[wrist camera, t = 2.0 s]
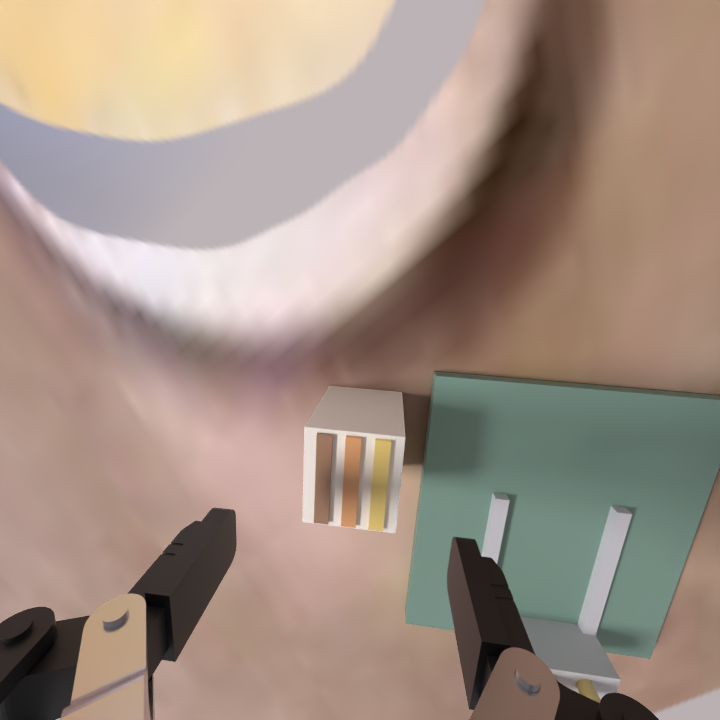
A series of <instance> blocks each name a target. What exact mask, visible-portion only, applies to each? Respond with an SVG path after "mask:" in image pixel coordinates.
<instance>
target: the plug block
mask: <svg viewBox="0 0 720 720" xmlns="http://www.w3.org/2000/svg"><path fill="white" fill-rule="evenodd" d="M404 447H405V424H404V411H403V398H402V392H396V391H385V390H373V389H362V388H351V387H340V386H329V387H328V389H327V390H326V392H325V394H324V395H323V397H322V399H321V400H320V402H319V404H318V405H317V407H316V409H315V410H314V412H313V414H312V415H311V417H310V419H309V420H308V422H307V424H306V425H305V428H304V473H303V518H302V522H307V523H315V524H324V525H332V526H340V527H348V528H356V529H364V530H372V531H380V532H388V533H396V524H397V515H398V505H399V495H400V486H401V476H402V466H403V457H404Z"/></svg>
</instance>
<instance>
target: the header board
mask: <svg viewBox="0 0 720 720" xmlns="http://www.w3.org/2000/svg"><path fill="white" fill-rule="evenodd" d="M719 468H720V395H710V394H698V393H686V392H674V391H663V390H651V389H639V388H627V387H615V386H604V385H592V384H580V383H568V382H556V381H544V380H533V379H521V378H509V377H497V376H485V375H473V374H462V373H450V372H438V371H434V375H433V384H432V392H431V400H430V409H429V417H428V425H427V434H426V442H425V450H424V459H423V467H422V475H421V484H420V492H419V500H418V509H417V517H416V525H415V534H414V542H413V550H412V559H411V567H410V575H409V583H408V592H407V600H406V608H405V613H406V623H407V624H413V625H420V626H427V627H434V628H441V629H448V630H455V629H454V624H453V618H452V613H451V608H450V602H449V597H448V590H447V570H448V563H449V557H450V550H451V543H452V538H453V537H461V538H470V539H475V540H476V542H477V545H478V548H479V551H480V554H481V556H482V557H490V558H492V559H493V560H494V561H495V562H496V564H497V565H498V566H499V567H500V568H501V570H502V571H503V573H504V576H505V578H506V581H507V583H508V586H509V589H510V591H511V594H512V596H513V600H514V602H515V604H516V606H517V609H518V612H519V614H520V617H521V619H522V622H523V624H524V627H525V630H526V632H527V635H528V637H529V640H530V642H531V645H532V648H533V650H534V652H535V655H536V656H537V657H538V658H540V659H541V660H542V661H543V662H544V663H545V664H546V665H547V666H548V668H549V669H550V670H551V672H552V673H553V675H554V677H555V679H556V680H557V681H558V682H560V683H561V684H563V685H564V686H566V687H568V688H569V689H571V690H573V691H575V692H577V693H580V694H582V695H584V696H586V697H588V698H590V699H592V700H594V701H596V702H598V703H600V701H601V700H600V698H602V697H603V696H604V695H606V694H608V693H616V692H617V689H618V686H619V683H620V680H621V679H620V677H619V676H618V674H617V672H616V670H615V669H614V667H613V665H612V663H611V662H610V660H609V658H608V656H607V655H606V653H605V652H607V653H614V654H621V655H627V656H634V657H641V658H648V659H650V658H651V655H652V652H653V650H654V647H655V644H656V641H657V638H658V636H659V633H660V630H661V627H662V625H663V622H664V619H665V616H666V614H667V611H668V608H669V605H670V603H671V600H672V597H673V594H674V592H675V589H676V586H677V583H678V581H679V578H680V575H681V572H682V570H683V567H684V564H685V561H686V559H687V556H688V553H689V550H690V548H691V545H692V542H693V539H694V537H695V534H696V531H697V528H698V526H699V523H700V520H701V517H702V515H703V512H704V509H705V506H706V504H707V501H708V498H709V495H710V492H711V490H712V487H713V484H714V481H715V479H716V476H717V473H718V470H719Z"/></svg>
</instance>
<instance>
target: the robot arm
mask: <svg viewBox="0 0 720 720" xmlns="http://www.w3.org/2000/svg"><path fill="white" fill-rule="evenodd" d="M235 551H236V515H235V511H234V510H230V509H222V508H213V509H211V510H210V512H209V513H208V514H207V515H206V517H205V518H204V519H203V520H202V522H201V521H195V522H193V523H192V524H190V525H189V526H187V527H186V528H184V529H183V530H181V532H180V533H179V534H178V535H177V536H176V537H175V539H174V540H173V541H172V542H171V545H169V546H168V547H167V548H166V549H165V550H164V551H163V554H162V555H160V556H159V557H158V559H157V560H156V561H155V562H154V563H153V564H152V566H151V567H150V568H149V569H148V570H147V571H146V573H145V574H144V575H143V576H142V577H141V578H140V580H139V581H138V582H137V583H136V584H135V586H134V587H133V588H132V589H131V590H130V591H129V593H128V594H123V595H120V596H117V597H114V598H112V599H110V600H108V601H107V602H105V603H104V604H102V605H101V606H100V607H98V608H97V609H96V610H95V611H94V612H93V613H92V614H91V615H90V616H85V617H79V618H73V619H67V620H62V621H55V615H54V612H53V611H52V610H51V609H50V608H47V607H35V608H31V609H27V610H24V611H22V612H19V613H17V614H15V615H13V616H11V617H9V618H8V619H6V620H5V621H3V622H2V623H0V720H56V719H58V718H60V720H155V709H154V675H153V673H154V671H155V670H156V668H157V666H158V665H159V663H160V662H161V660H168V661H174V662H175V661H176V660H177V658H178V656H179V654H180V653H181V651H182V649H183V647H184V646H185V644H186V642H187V640H188V639H189V637H190V635H191V633H192V632H193V630H194V628H195V626H196V625H197V623H198V621H199V619H200V618H201V616H202V614H203V612H204V611H205V609H206V607H207V605H208V604H209V602H210V600H211V598H212V597H213V595H214V593H215V591H216V590H217V588H218V586H219V584H220V583H221V581H222V579H223V577H224V576H225V574H226V572H227V570H228V569H229V567H230V565H231V563H232V561H233V558H234V555H235ZM447 590H448V597H449V602H450V608H451V613H452V618H453V624H454V629H455V635H456V640H457V646H458V651H459V657H460V662H461V667H462V673H463V678H464V684H465V689H466V695H467V700H468V706H469V709H472V710H474V711H473V713H472V716H471V718H470V719H469V720H659V719H658V718H657V717H656V716H655V715H654V714H653V713H652V712H651V711H649V710H648V709H647V708H646V707H645V706H643V705H642V704H640V703H639V702H637V701H636V700H634V699H632V698H631V697H628V696H626V695H623V694H620V693H608V694H606V695H604V696H603V697H602V699H601V701H600V703H598V702H596V701H594V700H592V699H590V698H588V697H586V696H584V695H582V694H580V693H577V692H575V691H573V690H571V689H569V688H568V687H566V686H564V685H563V684H561V683H560V682H558V681H557V680H556V679H555V677H554V675H553V673H552V672H551V670H550V669H549V668H548V666H547V665H546V664H545V663H544V662H543V661H542V660H541V659H540V658H538V657H537V656H536V655H535V652H534V650H533V648H532V645H531V642H530V640H529V637H528V635H527V632H526V630H525V627H524V624H523V622H522V619H521V617H520V614H519V612H518V609H517V606H516V604H515V602H514V600H513V596H512V594H511V591H510V589H509V586H508V583H507V581H506V578H505V576H504V573H503V571H502V570H501V568H500V567H499V566H498V565H497V564H496V562H495V561H494V560H493V559H492V558H490V557H482V556H481V554H480V551H479V548H478V545H477V542H476V540H475V539H470V538H461V537H453V538H452V543H451V550H450V557H449V563H448V570H447Z"/></svg>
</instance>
